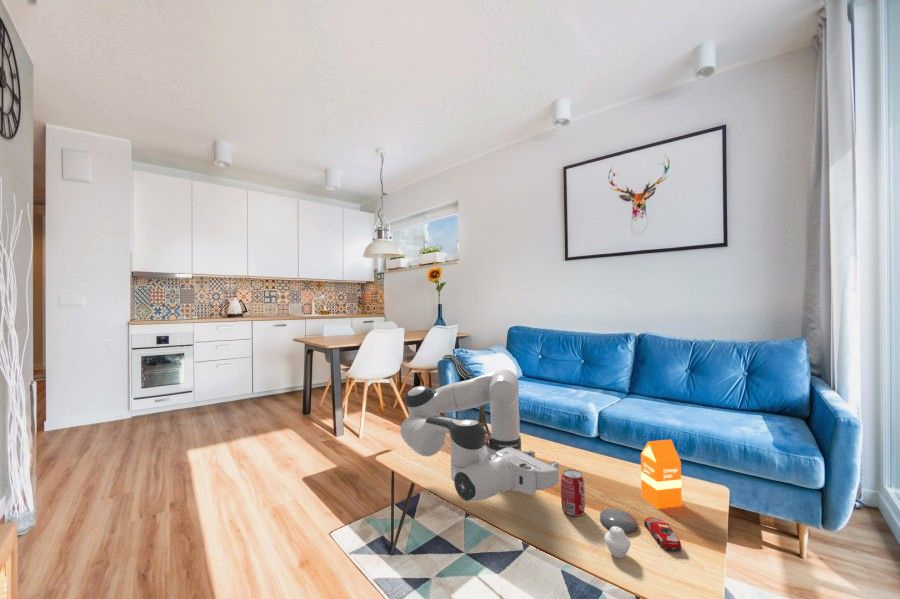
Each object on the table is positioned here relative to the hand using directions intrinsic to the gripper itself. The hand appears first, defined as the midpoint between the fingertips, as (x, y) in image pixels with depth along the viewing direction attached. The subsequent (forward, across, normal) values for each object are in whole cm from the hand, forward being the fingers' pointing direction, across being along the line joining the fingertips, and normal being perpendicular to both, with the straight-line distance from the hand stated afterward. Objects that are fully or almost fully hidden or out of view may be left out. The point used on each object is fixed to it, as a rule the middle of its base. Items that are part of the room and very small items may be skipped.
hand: (544, 459), depth 110 cm
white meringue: (+6, +20, -20) cm, 28 cm away
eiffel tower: (+24, -63, -20) cm, 70 cm away
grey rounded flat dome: (+18, +12, -19) cm, 29 cm away
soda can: (+12, 0, -20) cm, 23 cm away
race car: (+23, +22, -20) cm, 37 cm away
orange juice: (+41, +12, -20) cm, 47 cm away
